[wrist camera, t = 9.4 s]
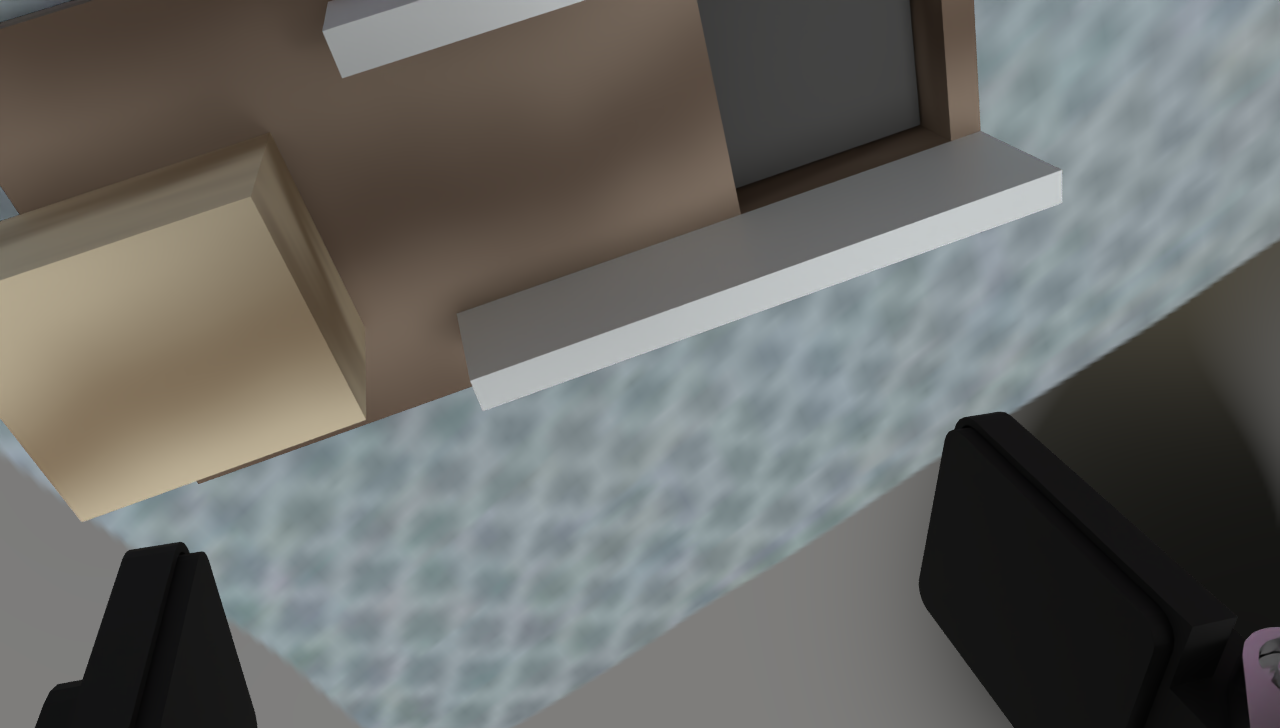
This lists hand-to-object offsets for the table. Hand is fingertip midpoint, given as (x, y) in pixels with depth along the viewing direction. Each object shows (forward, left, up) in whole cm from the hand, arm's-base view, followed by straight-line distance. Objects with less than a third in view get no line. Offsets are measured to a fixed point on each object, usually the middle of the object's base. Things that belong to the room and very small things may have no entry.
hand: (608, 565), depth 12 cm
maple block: (0, -8, -16) cm, 18 cm away
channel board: (0, +2, -18) cm, 19 cm away
